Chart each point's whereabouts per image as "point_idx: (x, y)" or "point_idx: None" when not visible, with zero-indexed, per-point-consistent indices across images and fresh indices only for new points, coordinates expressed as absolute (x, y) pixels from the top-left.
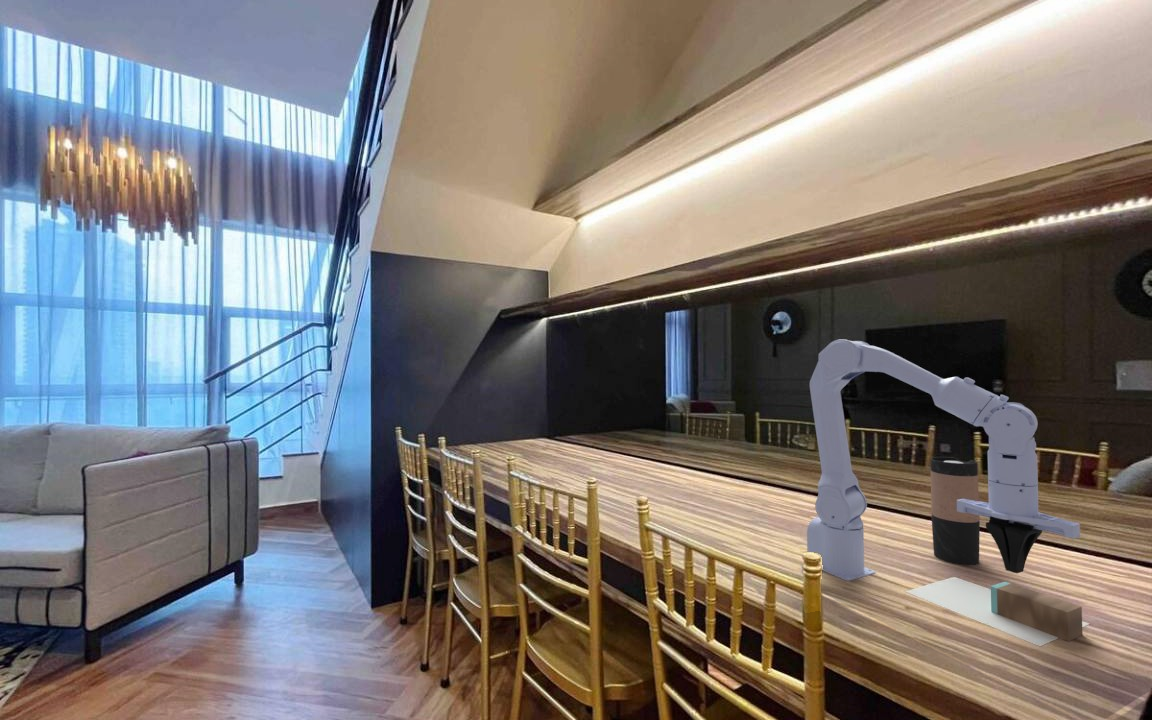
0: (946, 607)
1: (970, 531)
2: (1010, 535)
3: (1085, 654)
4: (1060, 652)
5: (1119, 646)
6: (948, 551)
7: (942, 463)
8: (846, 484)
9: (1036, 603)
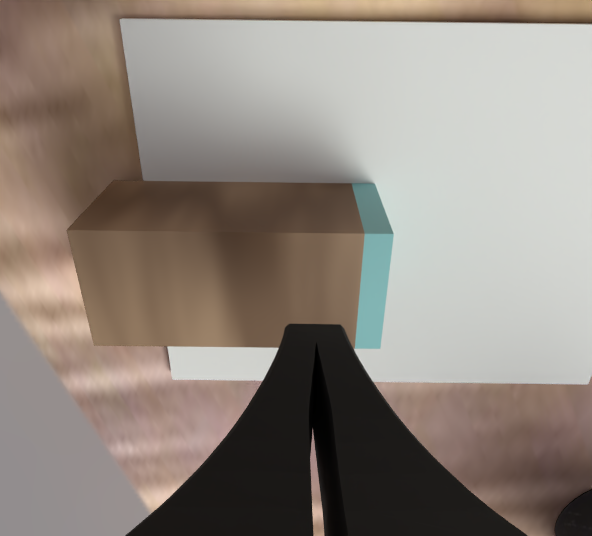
0: (514, 33)
1: None
2: (270, 526)
3: (52, 147)
4: (85, 73)
5: (65, 310)
6: None
7: None
8: None
9: (191, 227)
